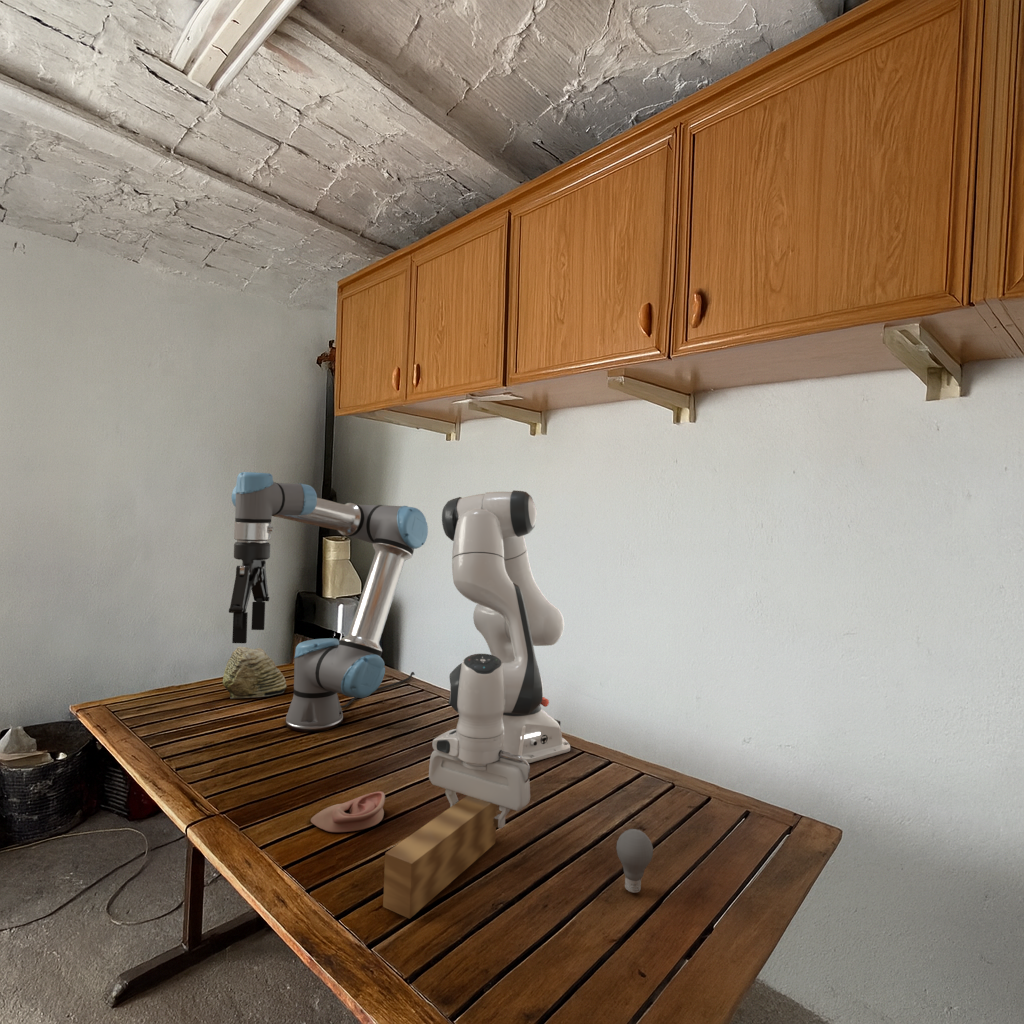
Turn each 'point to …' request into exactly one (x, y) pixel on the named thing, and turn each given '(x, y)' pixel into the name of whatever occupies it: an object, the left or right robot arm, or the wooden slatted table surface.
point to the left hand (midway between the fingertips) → (249, 636)
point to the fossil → (252, 674)
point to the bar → (437, 855)
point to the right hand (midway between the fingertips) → (477, 819)
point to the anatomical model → (352, 814)
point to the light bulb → (634, 857)
